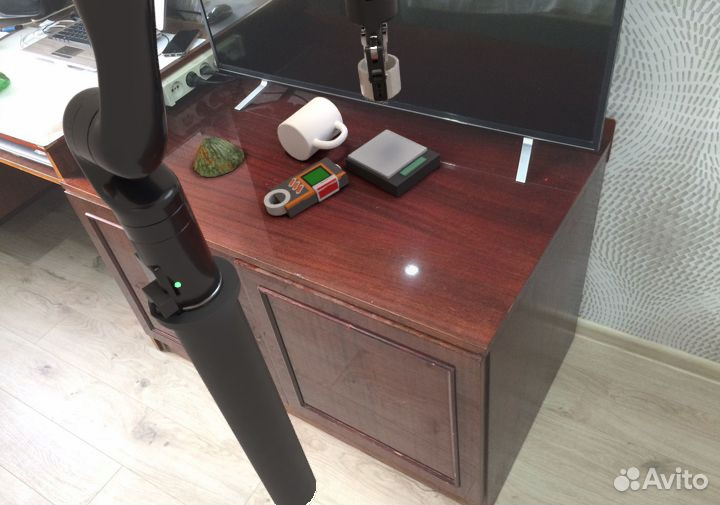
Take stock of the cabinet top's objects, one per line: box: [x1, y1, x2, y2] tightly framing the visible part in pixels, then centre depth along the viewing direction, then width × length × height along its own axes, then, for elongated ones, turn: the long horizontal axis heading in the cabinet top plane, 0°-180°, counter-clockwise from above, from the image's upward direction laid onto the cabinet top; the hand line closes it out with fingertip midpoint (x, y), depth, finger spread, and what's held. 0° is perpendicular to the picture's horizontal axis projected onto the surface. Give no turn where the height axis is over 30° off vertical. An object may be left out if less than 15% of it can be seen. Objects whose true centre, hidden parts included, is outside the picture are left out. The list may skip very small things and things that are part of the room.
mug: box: [277, 96, 349, 161], centre depth 111 cm, size 12×10×8 cm
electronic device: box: [263, 156, 350, 218], centre depth 104 cm, size 7×3×15 cm
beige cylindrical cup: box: [357, 53, 402, 101], centre depth 95 cm, size 6×6×5 cm
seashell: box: [192, 136, 245, 178], centre depth 114 cm, size 10×4×10 cm
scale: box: [344, 129, 441, 198], centre depth 106 cm, size 11×13×3 cm
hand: (380, 87), depth 96 cm, fingers closed on beige cylindrical cup, 6 cm apart
